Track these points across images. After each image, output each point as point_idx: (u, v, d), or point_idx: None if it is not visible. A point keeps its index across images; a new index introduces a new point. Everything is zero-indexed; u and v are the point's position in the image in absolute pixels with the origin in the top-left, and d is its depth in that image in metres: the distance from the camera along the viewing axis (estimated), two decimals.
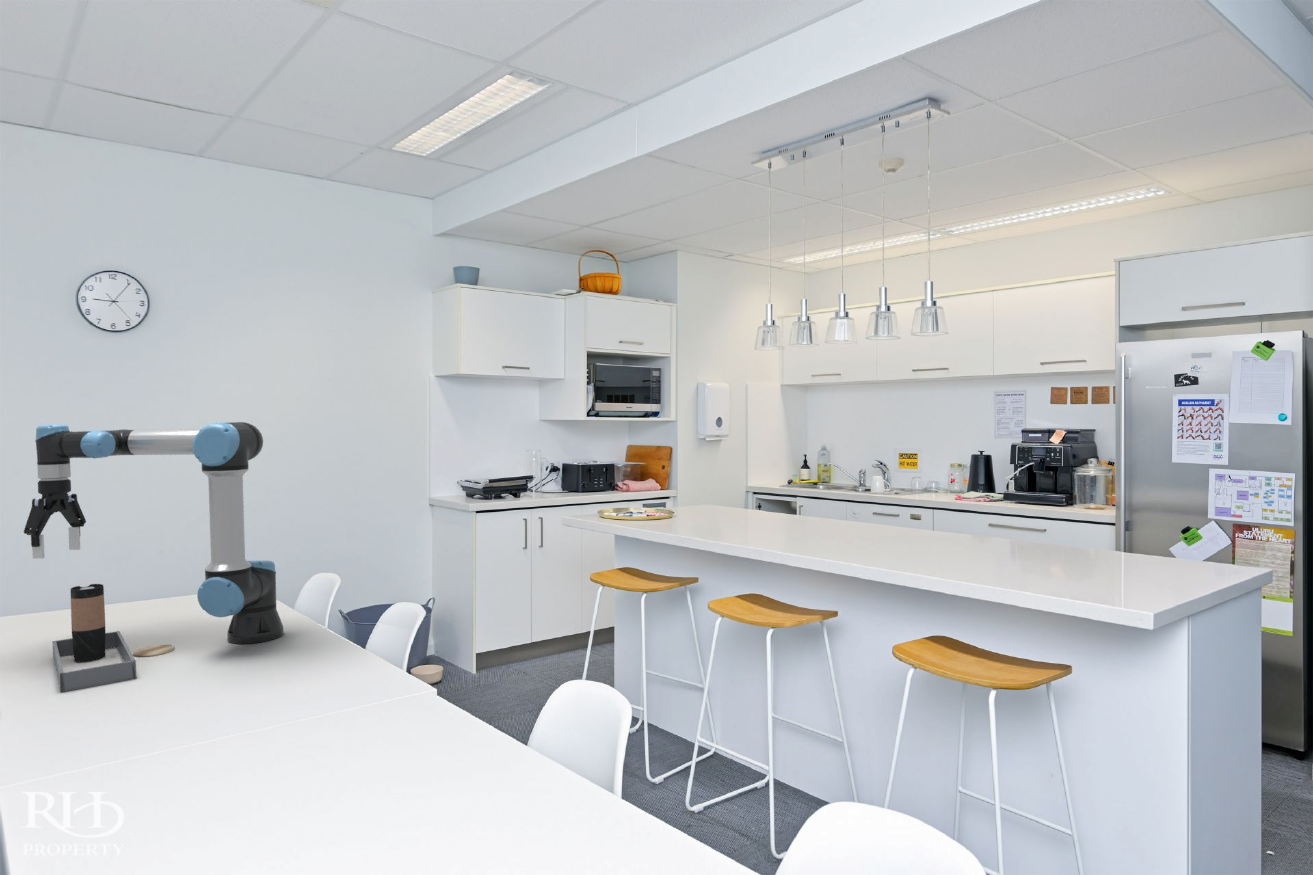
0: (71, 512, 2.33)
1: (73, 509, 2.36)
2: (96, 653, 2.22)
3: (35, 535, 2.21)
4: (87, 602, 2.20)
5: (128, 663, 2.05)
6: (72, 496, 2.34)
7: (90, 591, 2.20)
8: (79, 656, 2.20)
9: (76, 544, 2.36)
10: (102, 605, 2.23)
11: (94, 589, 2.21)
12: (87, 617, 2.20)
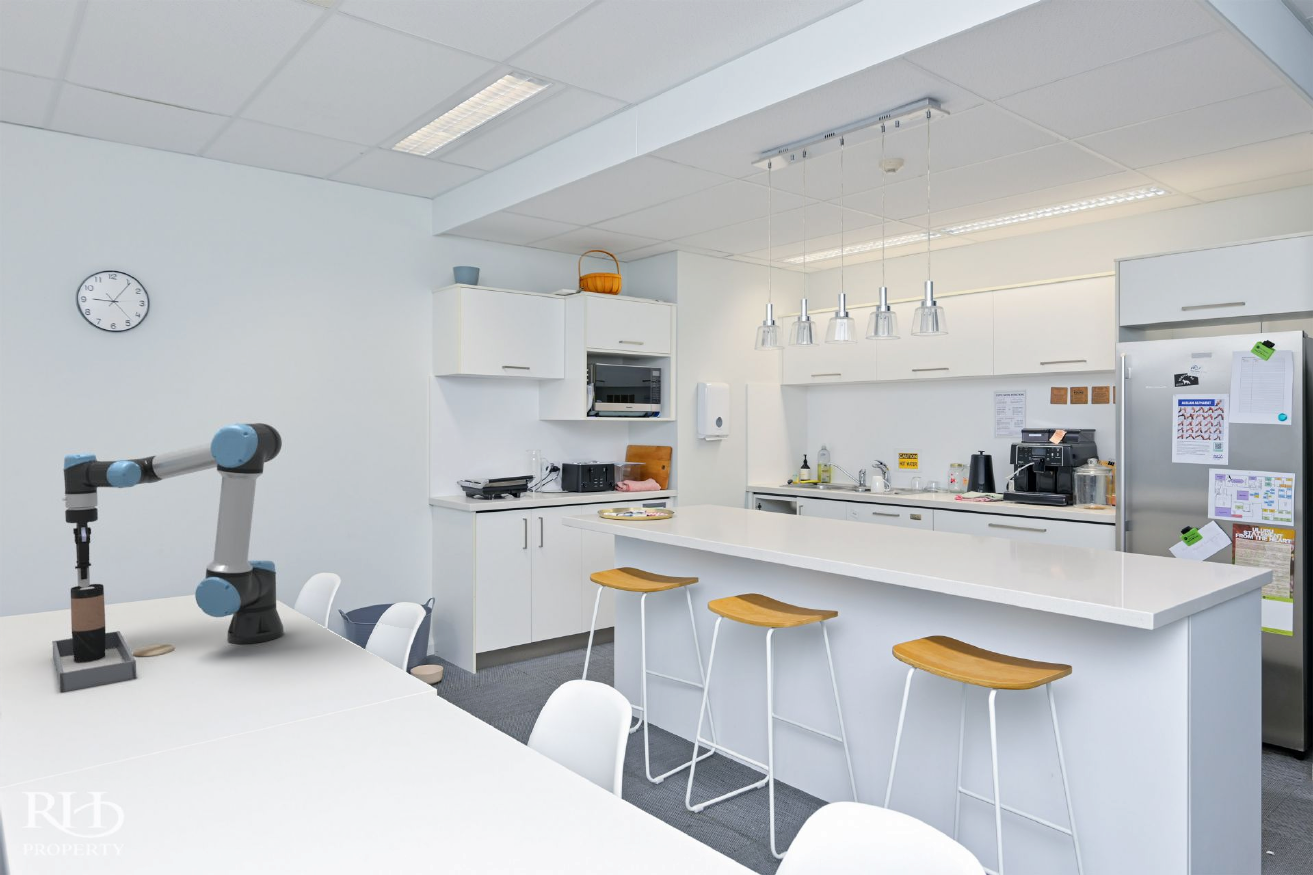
0: None
1: None
2: (96, 653, 2.22)
3: (86, 568, 2.30)
4: (87, 602, 2.20)
5: (128, 663, 2.05)
6: None
7: (90, 591, 2.20)
8: (79, 656, 2.20)
9: None
10: (102, 605, 2.23)
11: (94, 589, 2.21)
12: (87, 617, 2.20)
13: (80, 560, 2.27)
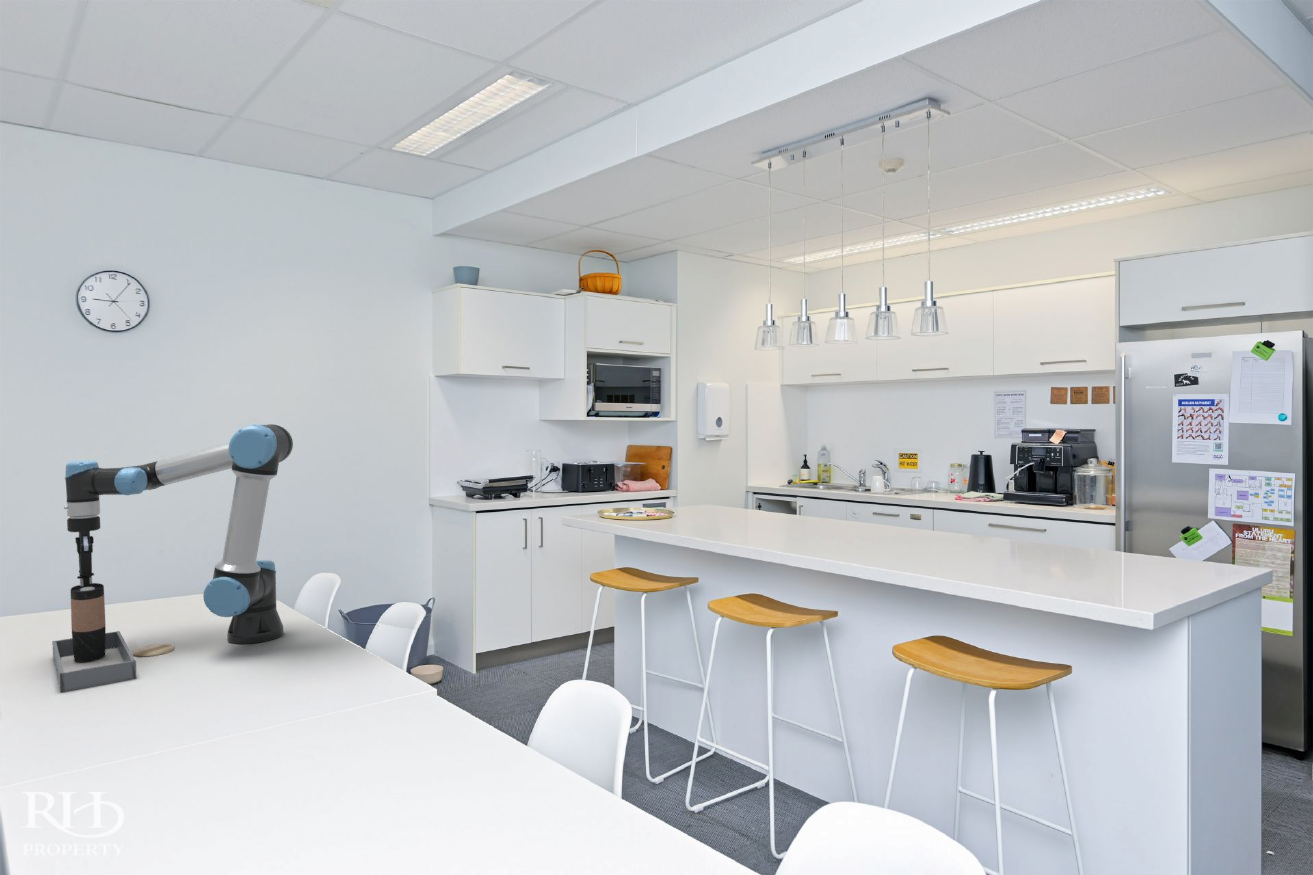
0: None
1: None
2: (96, 653, 2.21)
3: (88, 578, 2.25)
4: (87, 604, 2.18)
5: (128, 663, 2.05)
6: None
7: (90, 593, 2.19)
8: (79, 656, 2.20)
9: None
10: (102, 606, 2.22)
11: (94, 591, 2.19)
12: (87, 618, 2.19)
13: (82, 570, 2.22)
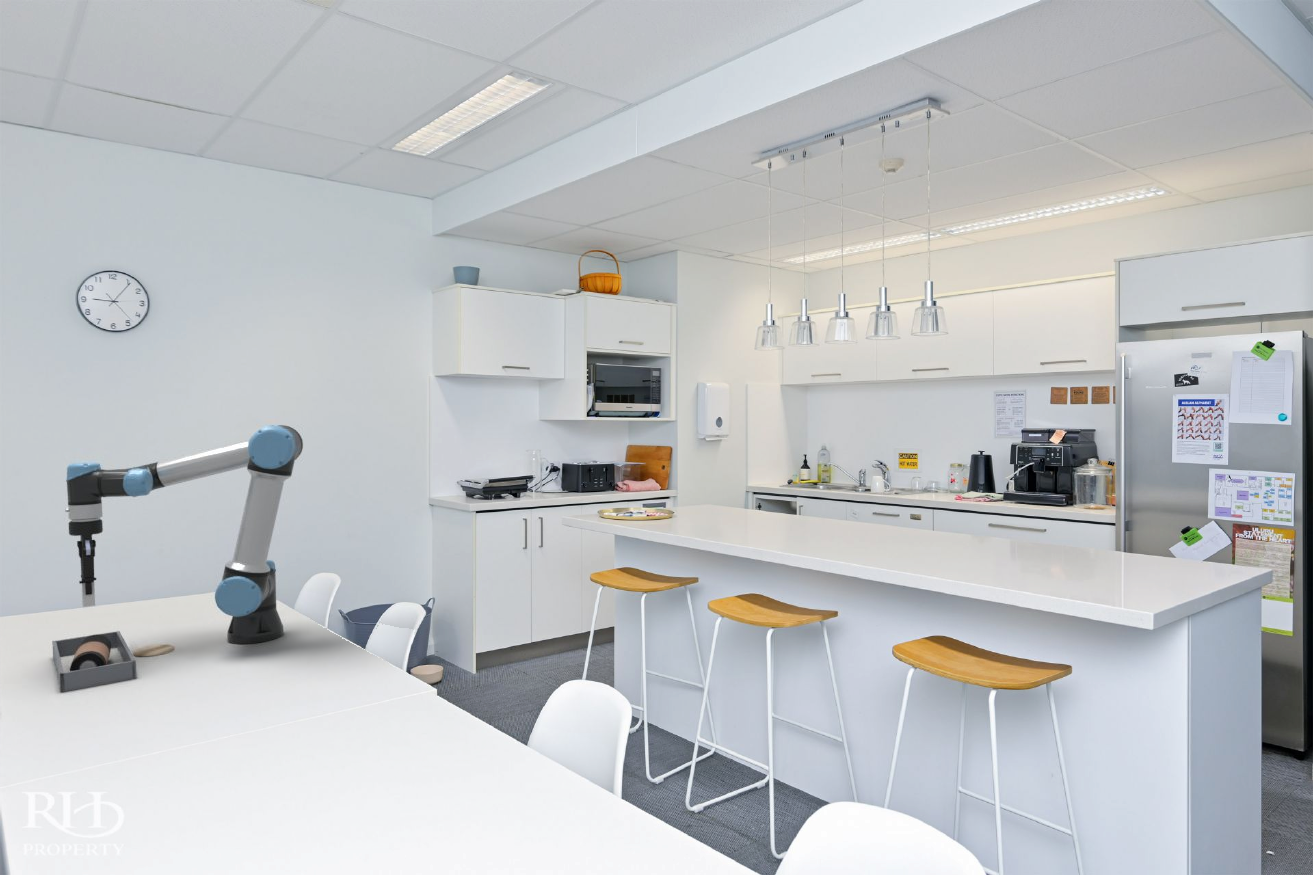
0: None
1: None
2: None
3: (91, 582, 2.19)
4: None
5: (128, 663, 2.05)
6: None
7: None
8: None
9: None
10: None
11: None
12: None
13: (84, 574, 2.16)
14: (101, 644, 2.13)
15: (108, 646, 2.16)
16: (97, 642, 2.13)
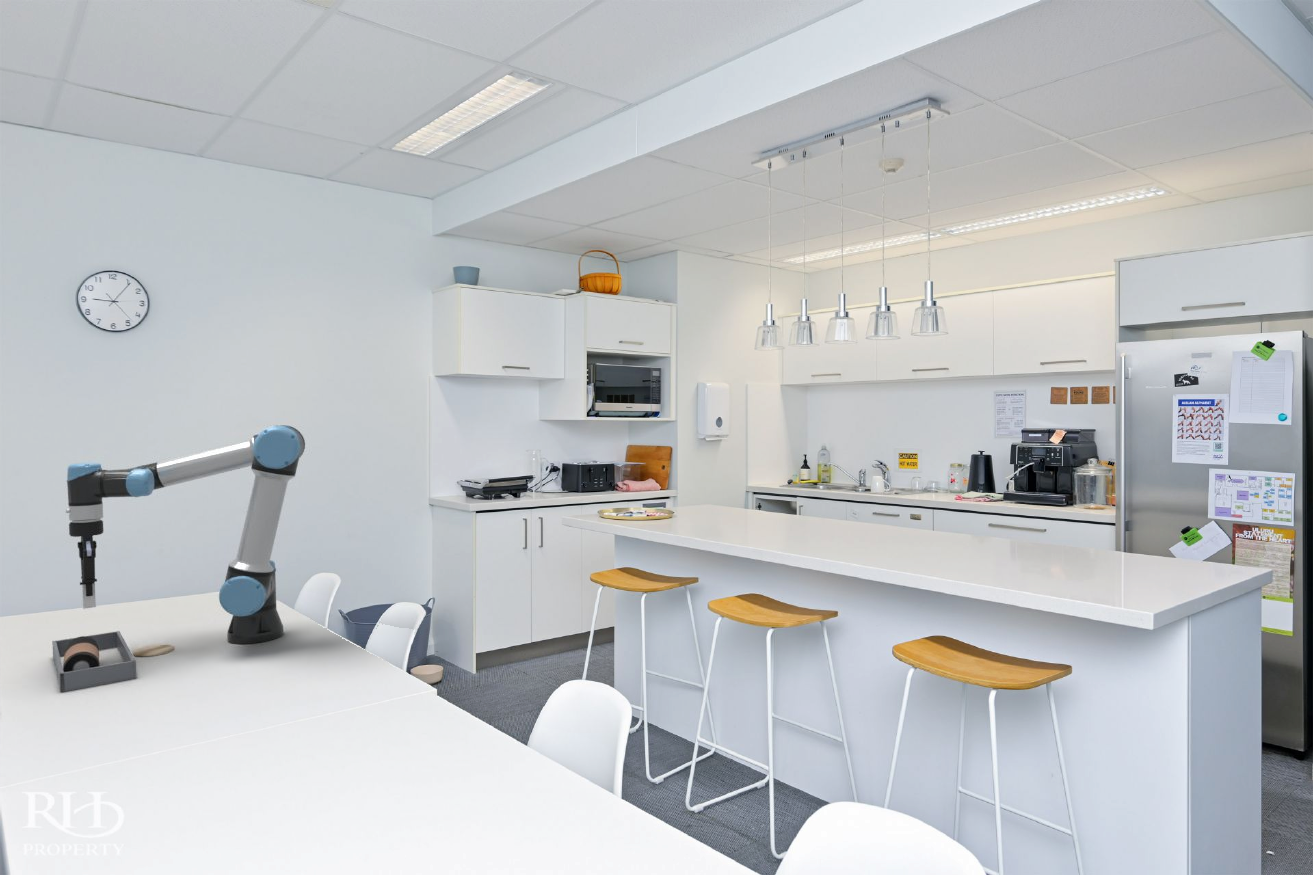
0: None
1: None
2: None
3: (91, 584, 2.17)
4: None
5: (128, 663, 2.05)
6: None
7: None
8: None
9: None
10: None
11: None
12: None
13: (85, 576, 2.14)
14: (83, 644, 2.11)
15: (92, 642, 2.14)
16: (78, 644, 2.11)
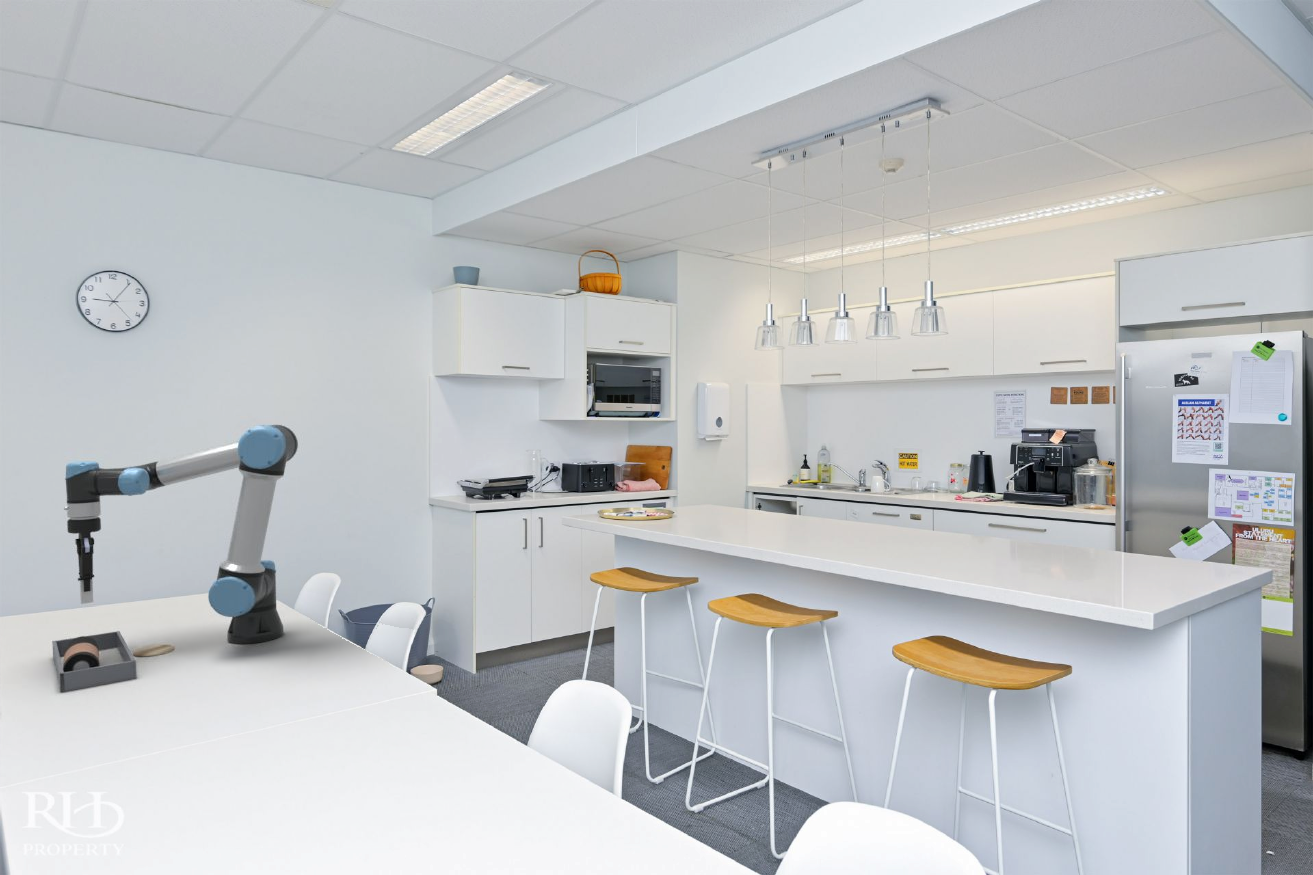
0: None
1: None
2: None
3: (89, 579, 2.22)
4: None
5: (128, 663, 2.05)
6: None
7: None
8: None
9: None
10: None
11: None
12: None
13: (83, 572, 2.19)
14: (83, 644, 2.11)
15: (92, 642, 2.14)
16: (78, 644, 2.11)
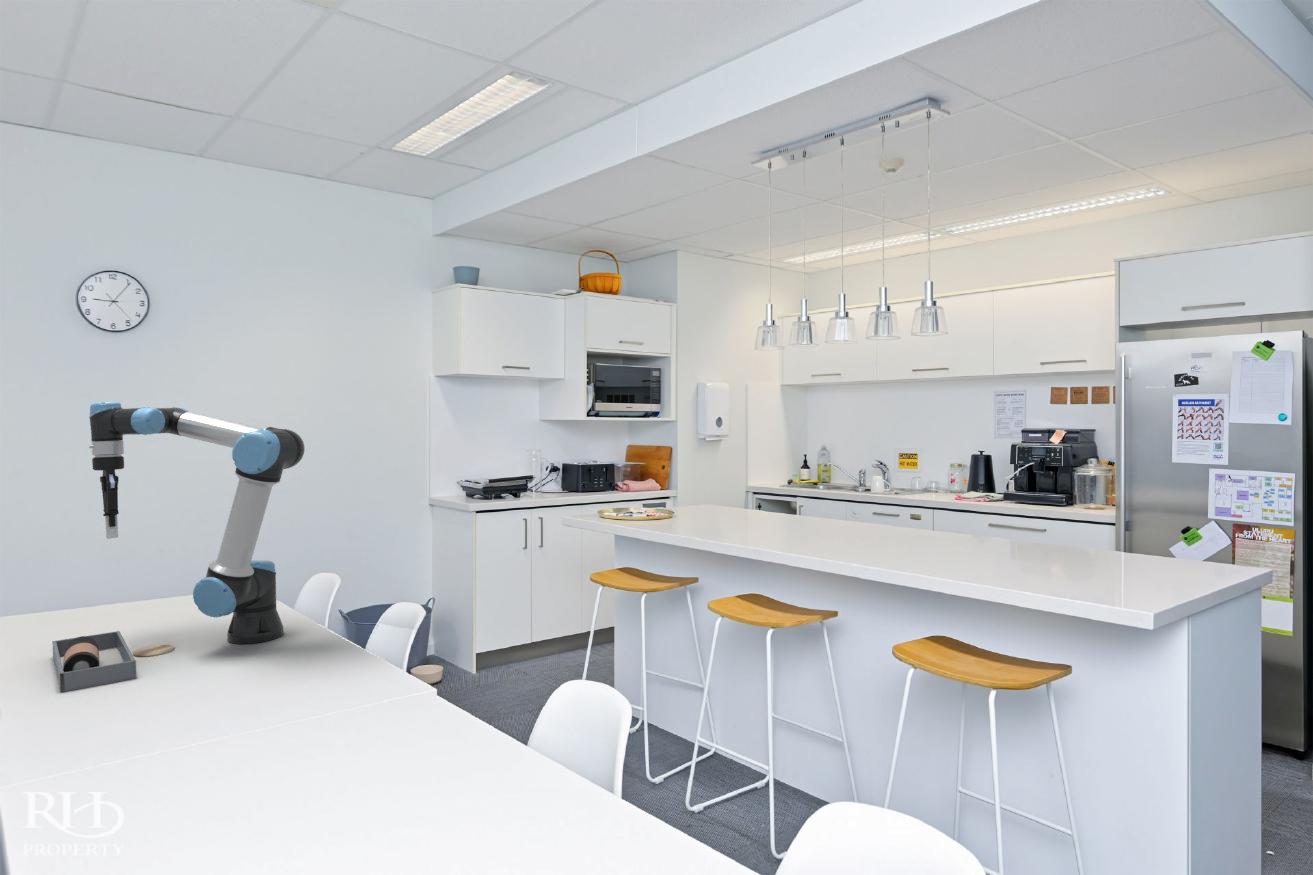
0: None
1: None
2: None
3: (114, 515, 2.31)
4: None
5: (128, 663, 2.05)
6: None
7: None
8: None
9: None
10: None
11: None
12: None
13: (109, 507, 2.28)
14: (83, 644, 2.11)
15: (92, 642, 2.14)
16: (78, 644, 2.11)
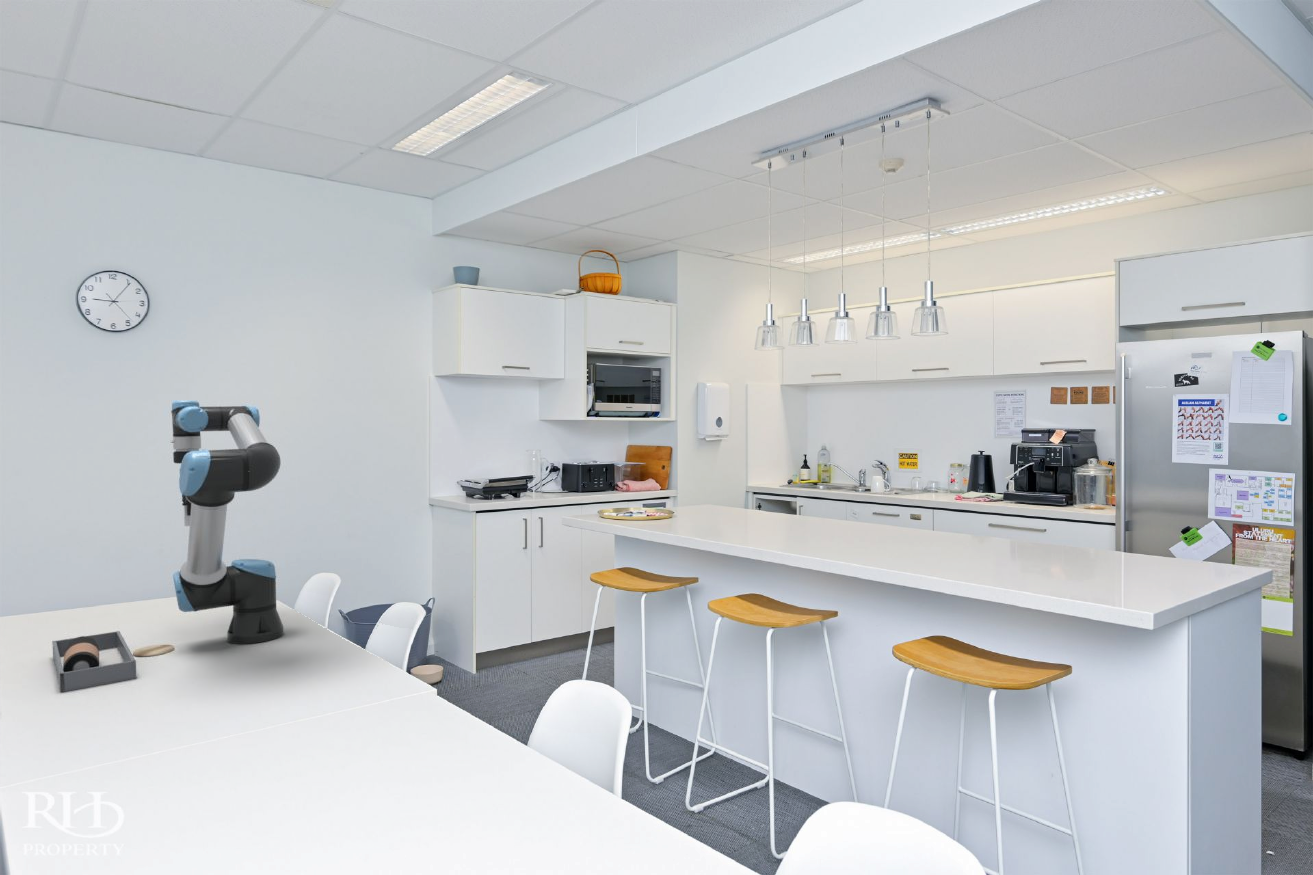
0: None
1: None
2: None
3: None
4: None
5: (128, 663, 2.05)
6: None
7: None
8: None
9: None
10: None
11: None
12: None
13: None
14: (83, 644, 2.11)
15: (92, 642, 2.14)
16: (78, 644, 2.11)
